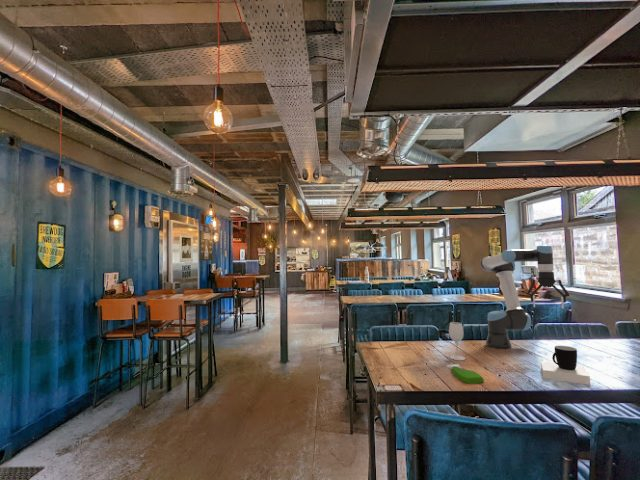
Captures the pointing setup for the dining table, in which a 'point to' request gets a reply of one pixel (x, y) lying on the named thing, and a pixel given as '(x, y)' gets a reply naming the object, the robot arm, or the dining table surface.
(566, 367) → the mug
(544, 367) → the flat plate
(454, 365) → the spray bottle
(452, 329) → the wineglass
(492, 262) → the robot arm
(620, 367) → the dining table surface
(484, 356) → the dining table surface
